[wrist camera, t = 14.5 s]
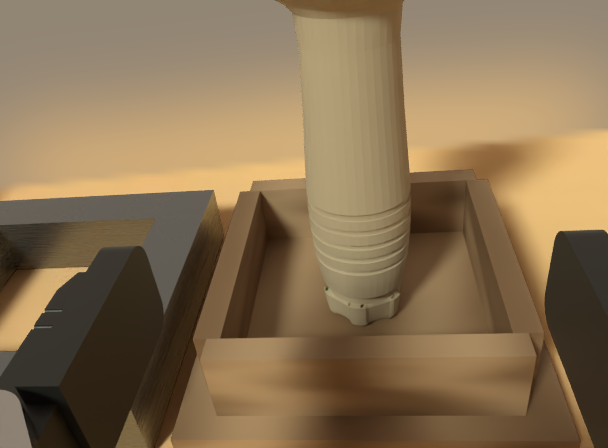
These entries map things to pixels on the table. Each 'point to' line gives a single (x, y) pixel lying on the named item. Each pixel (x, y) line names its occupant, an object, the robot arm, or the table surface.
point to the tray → (373, 337)
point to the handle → (355, 150)
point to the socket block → (114, 233)
